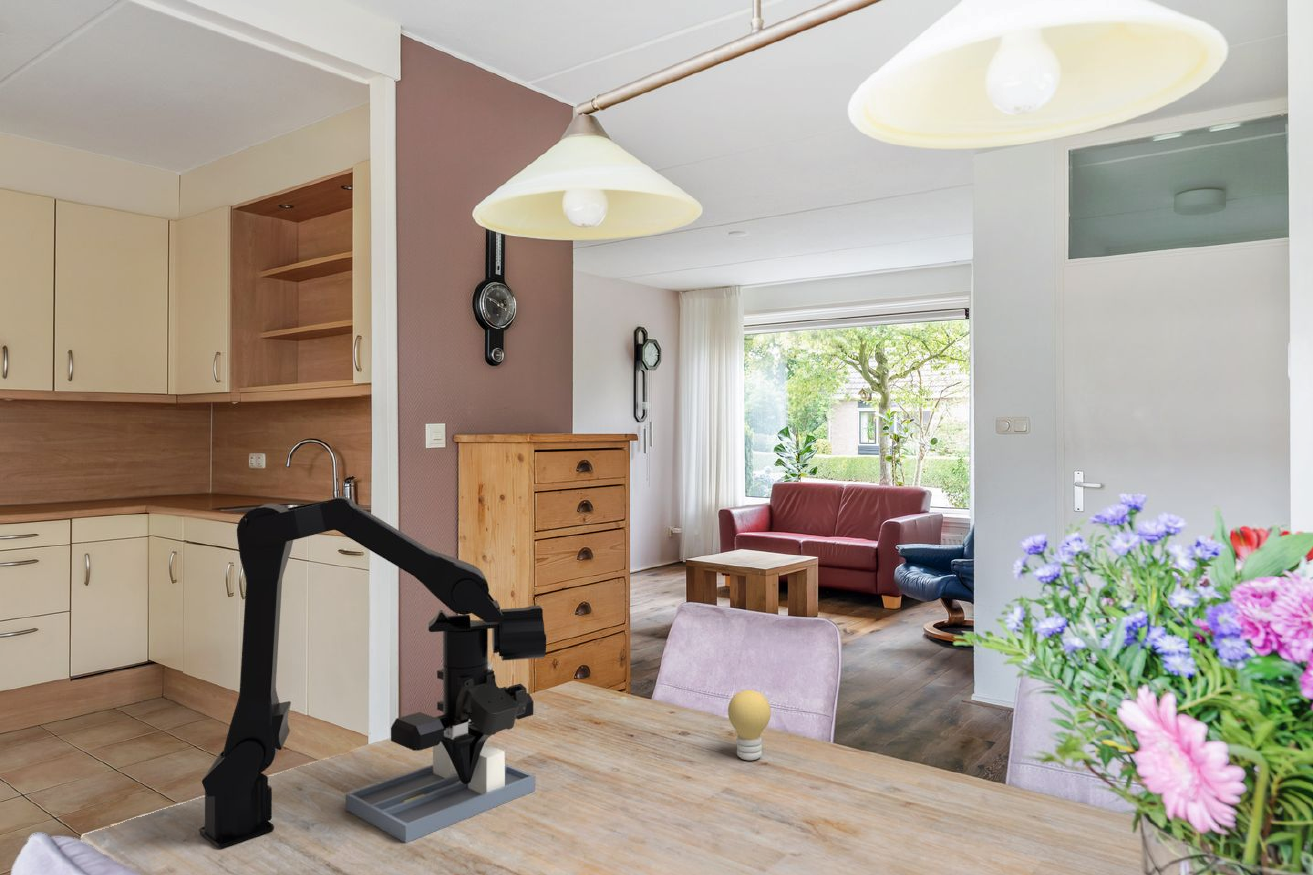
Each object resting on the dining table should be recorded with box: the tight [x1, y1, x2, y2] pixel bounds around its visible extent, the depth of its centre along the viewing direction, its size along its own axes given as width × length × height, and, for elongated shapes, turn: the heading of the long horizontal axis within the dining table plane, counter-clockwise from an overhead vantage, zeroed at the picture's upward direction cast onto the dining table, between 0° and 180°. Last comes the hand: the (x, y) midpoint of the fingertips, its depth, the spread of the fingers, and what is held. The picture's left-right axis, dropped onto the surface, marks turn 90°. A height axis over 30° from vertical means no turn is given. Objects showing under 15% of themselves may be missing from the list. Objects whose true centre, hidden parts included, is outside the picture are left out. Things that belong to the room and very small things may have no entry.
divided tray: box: [345, 763, 536, 844], centre depth 113 cm, size 20×14×2 cm
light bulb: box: [727, 689, 772, 761], centre depth 128 cm, size 6×6×10 cm
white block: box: [432, 742, 457, 778], centre depth 118 cm, size 3×4×5 cm
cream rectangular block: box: [468, 744, 506, 794], centre depth 113 cm, size 3×4×5 cm
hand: (465, 782), depth 111 cm, fingers closed
